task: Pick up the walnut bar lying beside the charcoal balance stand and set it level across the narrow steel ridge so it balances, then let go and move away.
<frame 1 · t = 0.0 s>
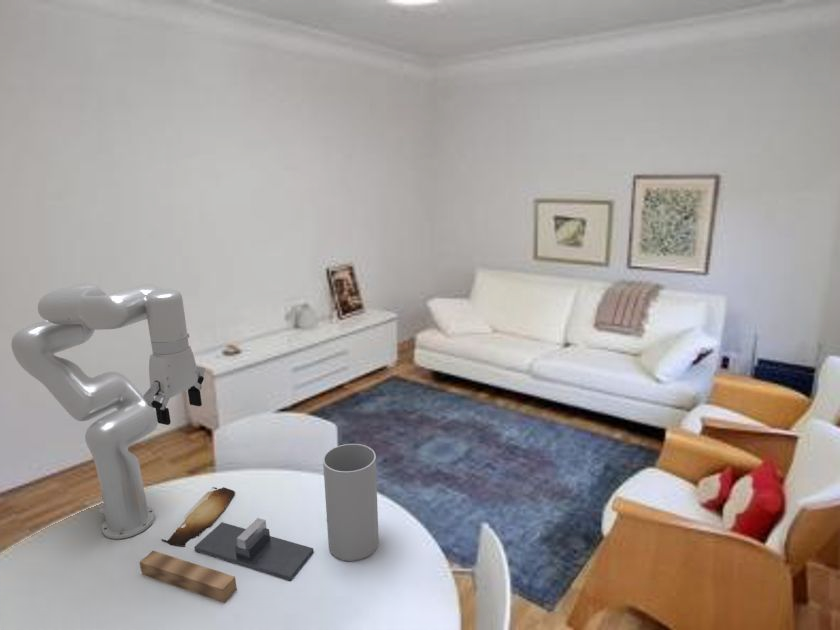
hand: (180, 414, 126), 37 cm above the table, tool pointing down, fingers open, 9 cm apart
parchment: (203, 516, 148), on the table
balance stand: (254, 551, 134), on the table
cylinder vase: (353, 545, 137), on the table
walnut bar: (188, 583, 125), on the table
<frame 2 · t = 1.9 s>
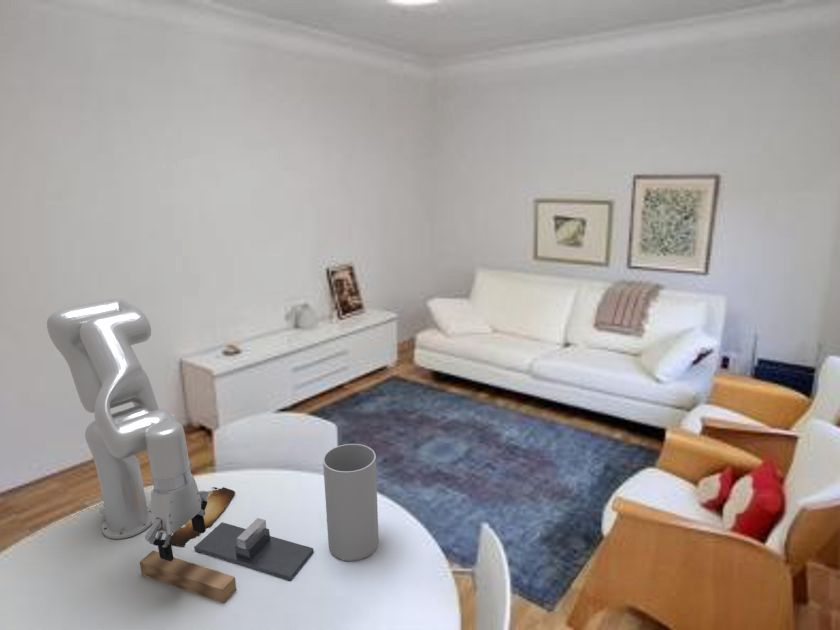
hand: (183, 544, 121), 11 cm above the table, tool pointing down, fingers open, 9 cm apart
nothing on the table moved.
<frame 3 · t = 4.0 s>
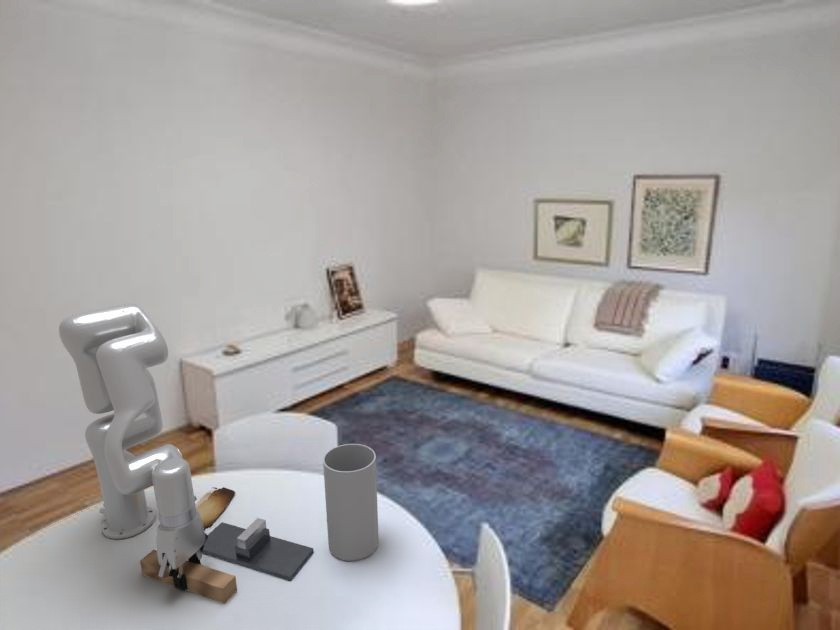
hand: (188, 580, 125), 1 cm above the table, tool pointing down, fingers closed on walnut bar, 4 cm apart
walnut bar: (189, 582, 125), on the table, touching gripper
everything else where it was.
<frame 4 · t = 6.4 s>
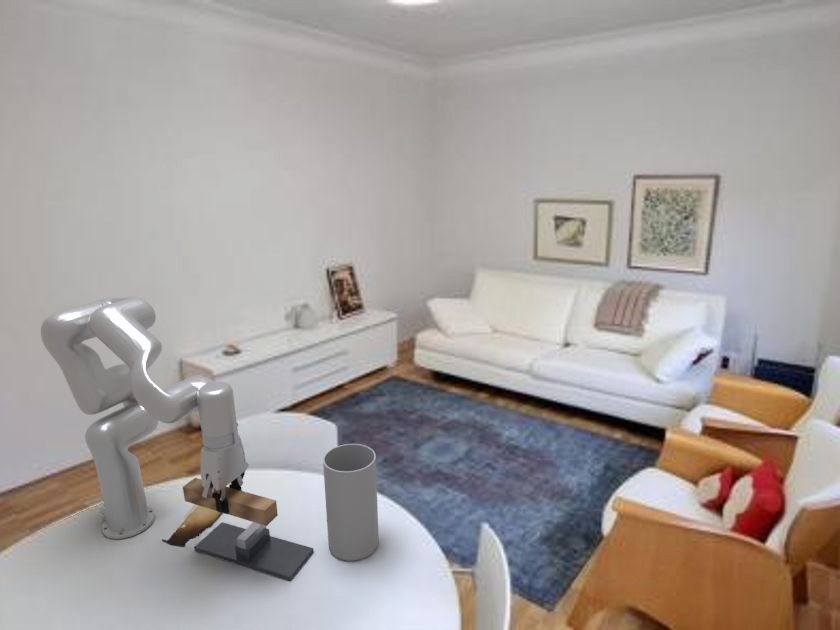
hand: (230, 505, 127), 16 cm above the table, tool pointing down, fingers closed on walnut bar, 4 cm apart
walnut bar: (230, 508, 127), point 15 cm above the table, touching gripper
everything else where it was.
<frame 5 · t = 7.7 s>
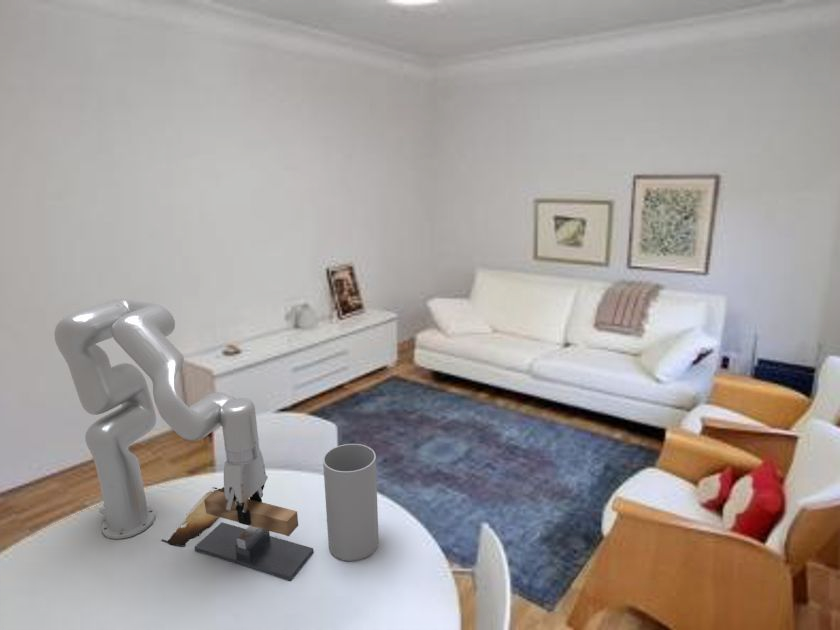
hand: (251, 517, 131), 10 cm above the table, tool pointing down, fingers closed on walnut bar, 4 cm apart
walnut bar: (251, 519, 131), point 10 cm above the table, touching gripper
everything else where it was.
when the fingers open (8 cm above the table, at t = 8.8 s): walnut bar stays where it is, resting on balance stand.
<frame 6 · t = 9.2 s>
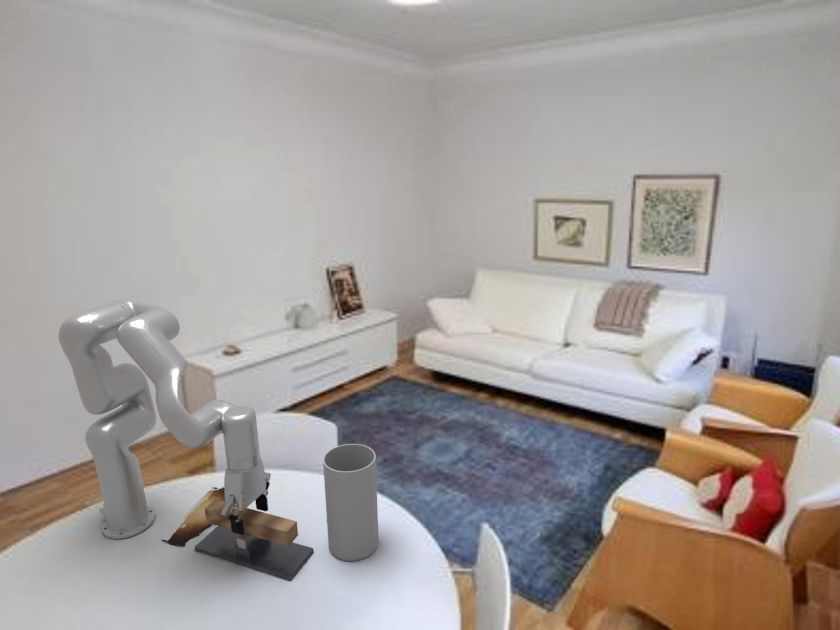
hand: (250, 520, 132), 9 cm above the table, tool pointing down, fingers open, 8 cm apart
walnut bar: (251, 528, 132), point 7 cm above the table, touching balance stand
everything else where it was.
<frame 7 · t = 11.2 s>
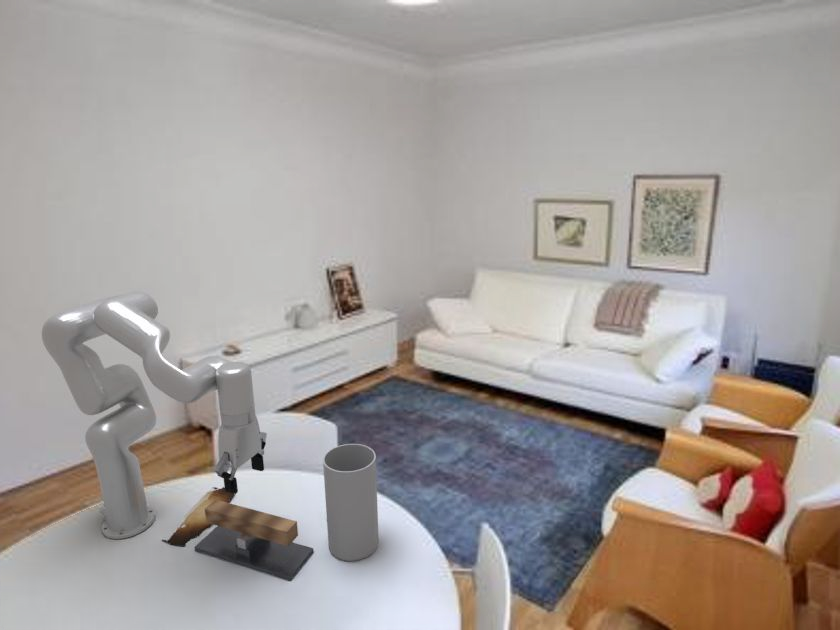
hand: (245, 480, 129), 20 cm above the table, tool pointing down, fingers open, 9 cm apart
nothing on the table moved.
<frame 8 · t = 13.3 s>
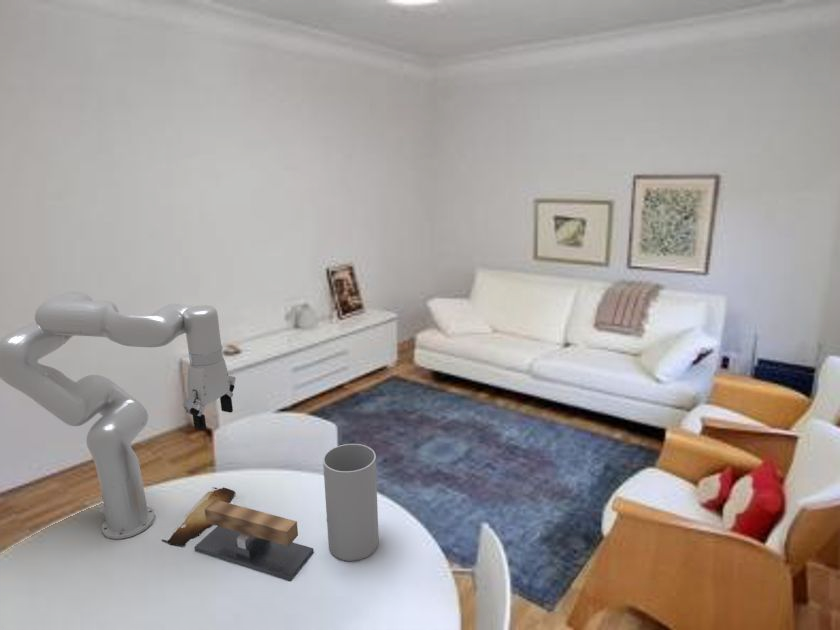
hand: (214, 419, 137), 30 cm above the table, tool pointing down, fingers open, 9 cm apart
nothing on the table moved.
at the end: walnut bar 0.0 cm off-centre on the balance stand, point 6.7 cm above the balance stand's base; walnut bar tilted 0°; the gripper is holding nothing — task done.
